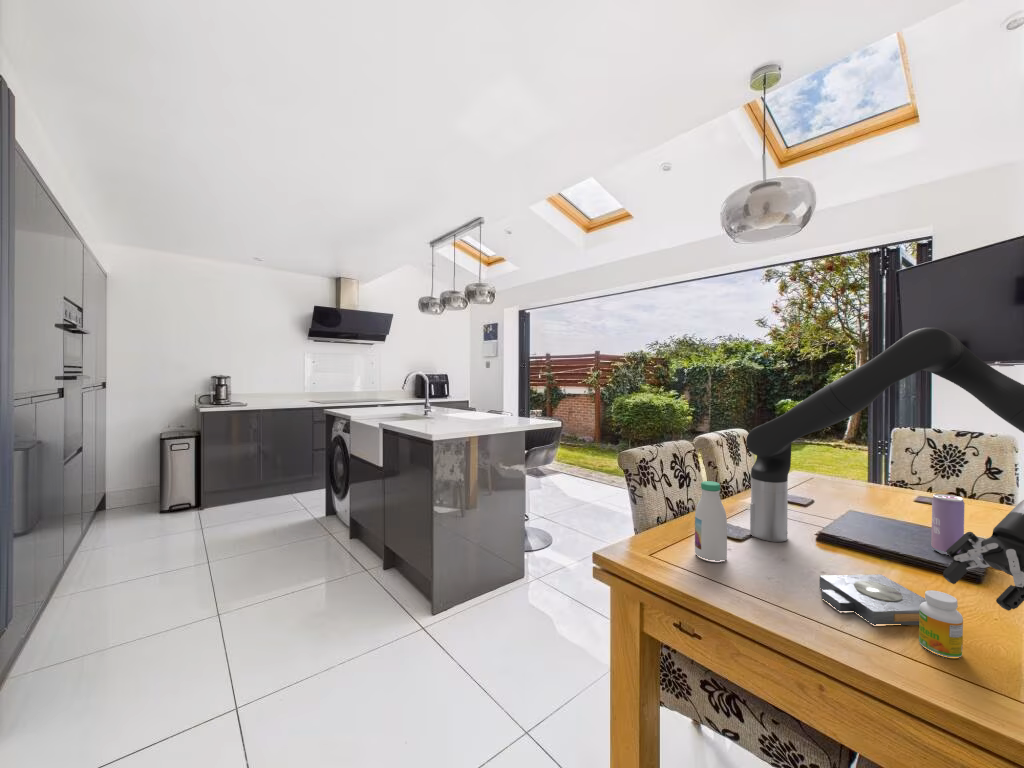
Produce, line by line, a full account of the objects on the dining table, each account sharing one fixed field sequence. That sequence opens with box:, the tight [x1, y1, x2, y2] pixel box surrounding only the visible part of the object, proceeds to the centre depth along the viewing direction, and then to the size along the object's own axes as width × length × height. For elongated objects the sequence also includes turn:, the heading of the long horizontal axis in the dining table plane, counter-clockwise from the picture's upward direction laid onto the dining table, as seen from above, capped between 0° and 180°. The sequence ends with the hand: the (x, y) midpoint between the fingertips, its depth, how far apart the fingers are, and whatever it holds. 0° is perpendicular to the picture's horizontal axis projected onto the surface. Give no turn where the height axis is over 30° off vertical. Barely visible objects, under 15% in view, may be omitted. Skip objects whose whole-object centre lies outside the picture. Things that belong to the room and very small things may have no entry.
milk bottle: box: [694, 480, 728, 561], centre depth 111 cm, size 8×8×20 cm
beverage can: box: [930, 493, 965, 554], centre depth 112 cm, size 6×6×15 cm
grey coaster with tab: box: [819, 573, 926, 625], centre depth 88 cm, size 17×14×3 cm
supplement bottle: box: [918, 589, 964, 658], centre depth 74 cm, size 5×5×10 cm
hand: (973, 592), depth 74 cm, fingers open, 8 cm apart
